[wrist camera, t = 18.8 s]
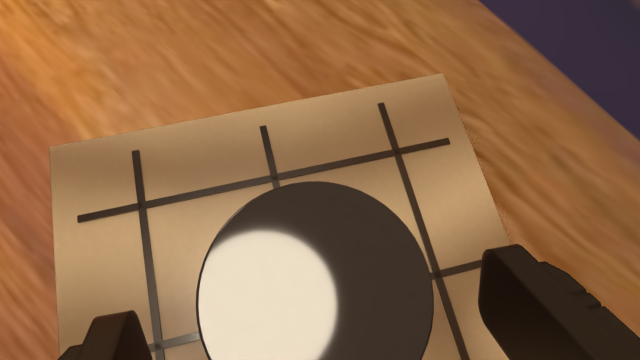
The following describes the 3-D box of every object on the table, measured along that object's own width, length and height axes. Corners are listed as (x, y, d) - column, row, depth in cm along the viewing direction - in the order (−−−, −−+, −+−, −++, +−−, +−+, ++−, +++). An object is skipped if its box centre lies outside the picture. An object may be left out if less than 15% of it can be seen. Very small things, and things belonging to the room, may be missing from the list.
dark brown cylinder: (229, 263, 17) (179, 206, 9) (351, 234, 18) (394, 160, 10) (253, 400, 15) (216, 463, 8) (386, 363, 16) (469, 388, 9)
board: (65, 160, 20) (46, 145, 18) (433, 89, 22) (444, 70, 21) (97, 660, 14) (73, 701, 12) (587, 490, 16) (617, 506, 15)
